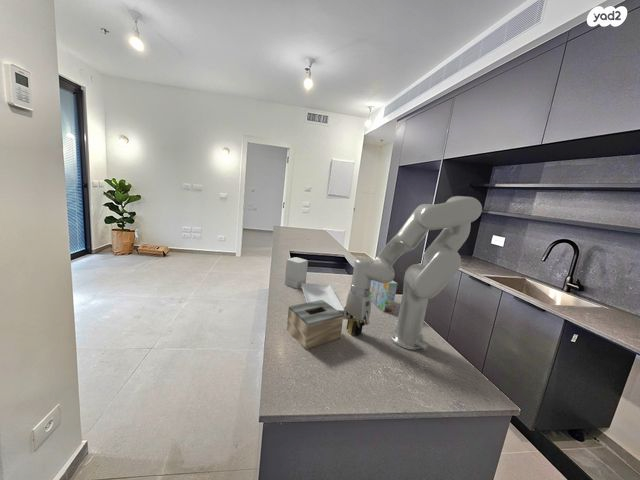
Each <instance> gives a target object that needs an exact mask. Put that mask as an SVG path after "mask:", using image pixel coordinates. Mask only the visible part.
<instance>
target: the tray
mask: <svg viewBox="0 0 640 480" xmlns="http://www.w3.org/2000/svg"><path fill="white" fill-rule="evenodd" d="M301 285H302V287H301V288H302V292H303V296H304V299H305V301H306V302H305V303H308V302H313V301H319V300H323V301H325V302H326V303H328V304H329V305H330V306H332V307H333V308H335V309H336V310H338V311H339V312H340V313H343V312H345V310H344V306H343V305H342V303H341V301H340V300H339V298H338V296H337V295H336V293H335V291H334V289H333V288H332V286H331V285H330V284H326V283H325V284H322V283H320V284H319V283H307V282H306V283H302V284H301Z"/></svg>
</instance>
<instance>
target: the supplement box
mask: <svg viewBox="0 0 640 480" xmlns="http://www.w3.org/2000/svg"><path fill="white" fill-rule="evenodd" d="M308 265H309V260H307V259H304V258H301V257H297V256H296V257H295V256H294V257H291V258H287V259H286V265H285V274H284V275H285V276H284V285H285V286H287V287H291V288H293V289H299V288H302V285H301V284H302V283H306V284H307V274H308V273H307V272H308Z"/></svg>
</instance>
